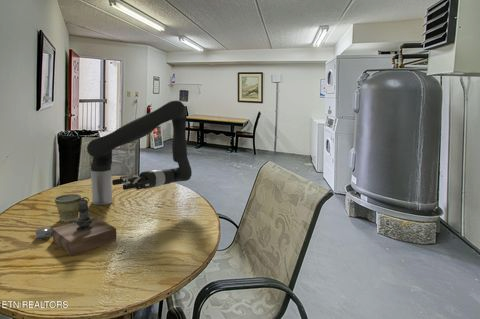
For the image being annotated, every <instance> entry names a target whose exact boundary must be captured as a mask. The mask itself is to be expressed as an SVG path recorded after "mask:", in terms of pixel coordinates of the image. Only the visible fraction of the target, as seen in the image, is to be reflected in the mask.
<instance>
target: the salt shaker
mask: <svg viewBox="0 0 480 319" xmlns="http://www.w3.org/2000/svg"><path fill="white" fill-rule="evenodd" d="M81 198H82V200H80V201H79V209H78V211H79V214H78V218H77V219H76V220H74V222H76V223H77V225H78V226H79V227H78V228H77V230H78V231H87V230H90V229H92V228H93V226H91V225H90V224H91V223H92V220H93V218H94V217H93V216H90V215H89V210H90V208H89V202H88V199H86V198H85V199H84V198H83V197H81Z"/></svg>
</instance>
